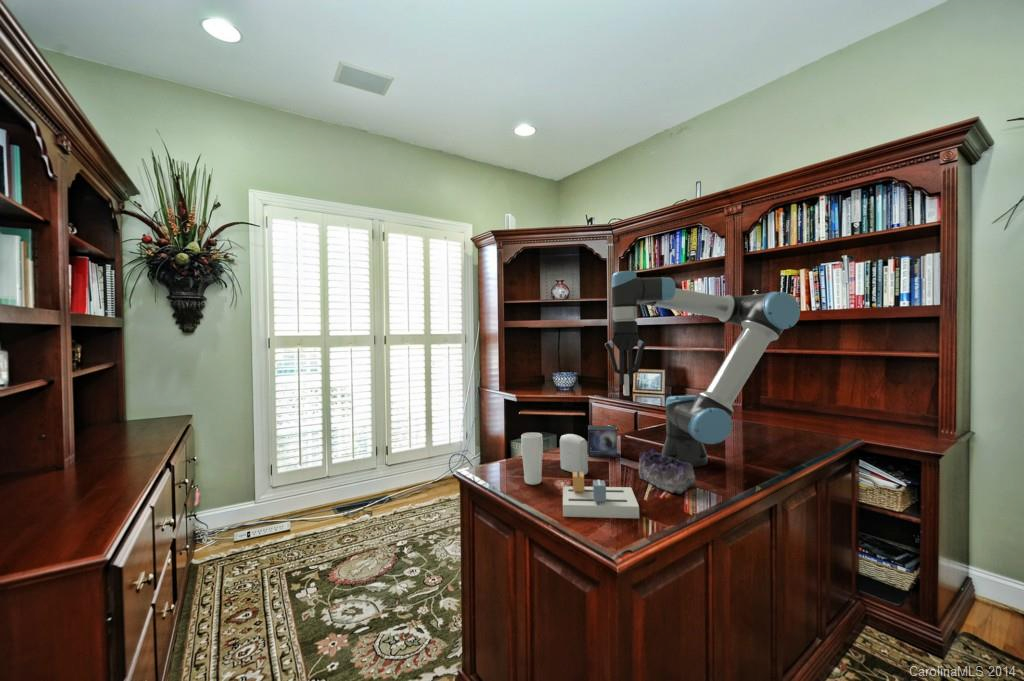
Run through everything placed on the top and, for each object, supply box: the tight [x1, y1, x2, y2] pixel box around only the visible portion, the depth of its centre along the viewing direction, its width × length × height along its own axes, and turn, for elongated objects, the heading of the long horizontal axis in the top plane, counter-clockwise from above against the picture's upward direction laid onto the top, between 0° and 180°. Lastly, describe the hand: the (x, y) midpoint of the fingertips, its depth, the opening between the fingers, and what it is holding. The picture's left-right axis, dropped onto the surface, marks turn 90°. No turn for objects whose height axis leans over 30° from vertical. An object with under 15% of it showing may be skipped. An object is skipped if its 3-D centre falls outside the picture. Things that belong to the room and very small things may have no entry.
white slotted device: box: [559, 433, 589, 476], centre depth 144 cm, size 10×4×12 cm, turn 39°
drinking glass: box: [520, 432, 544, 486], centre depth 135 cm, size 7×7×15 cm
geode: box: [637, 447, 696, 495], centre depth 131 cm, size 20×12×10 cm, turn 26°
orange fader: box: [572, 471, 585, 492], centre depth 119 cm, size 3×4×4 cm
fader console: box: [562, 485, 640, 519], centre depth 115 cm, size 19×13×3 cm
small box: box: [587, 425, 618, 458], centre depth 162 cm, size 11×6×10 cm, turn 80°
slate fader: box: [592, 479, 607, 502], centre depth 112 cm, size 3×4×4 cm
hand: (626, 394), depth 136 cm, fingers closed
